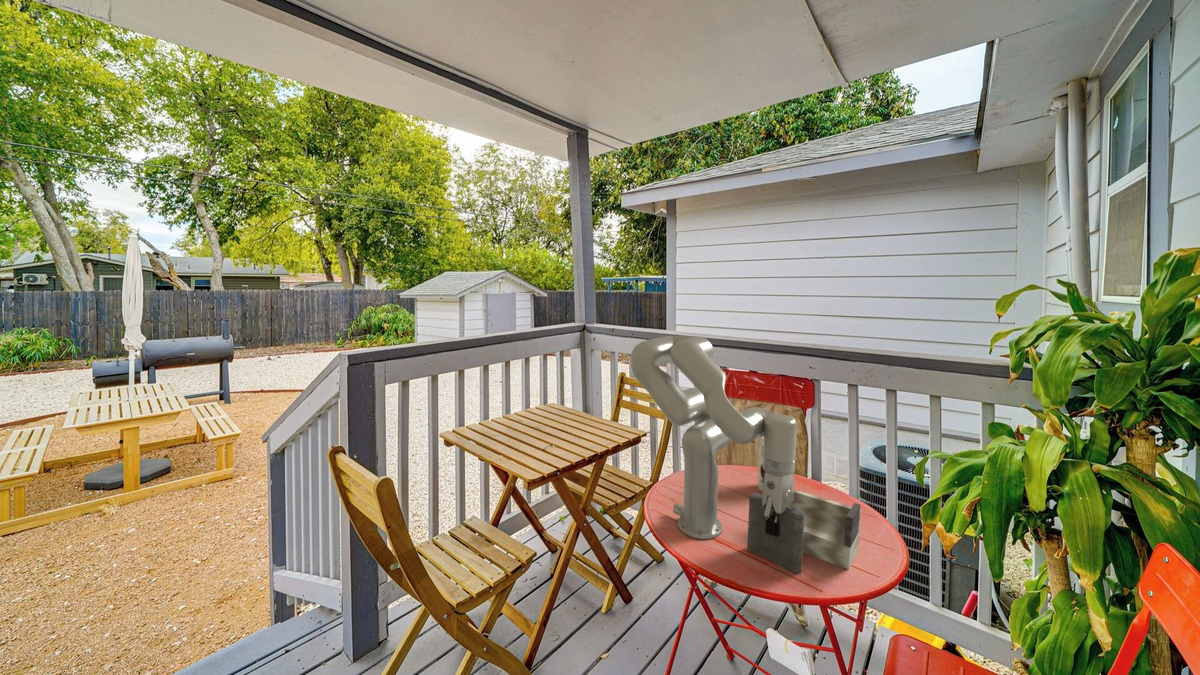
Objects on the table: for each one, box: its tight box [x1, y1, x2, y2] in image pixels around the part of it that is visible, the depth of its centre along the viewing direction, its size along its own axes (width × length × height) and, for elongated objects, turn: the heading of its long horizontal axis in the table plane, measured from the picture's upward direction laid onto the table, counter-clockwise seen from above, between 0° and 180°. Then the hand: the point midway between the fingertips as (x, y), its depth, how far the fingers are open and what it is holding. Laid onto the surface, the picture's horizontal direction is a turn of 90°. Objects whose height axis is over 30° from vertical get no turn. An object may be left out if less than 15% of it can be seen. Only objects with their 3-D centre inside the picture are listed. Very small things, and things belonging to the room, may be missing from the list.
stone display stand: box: [790, 489, 862, 570], centre depth 125 cm, size 20×10×14 cm, turn 50°
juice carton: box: [757, 437, 765, 492], centre depth 156 cm, size 8×9×19 cm
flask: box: [746, 492, 805, 575], centre depth 119 cm, size 4×14×18 cm, turn 43°
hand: (775, 530), depth 119 cm, fingers closed on flask, 3 cm apart
